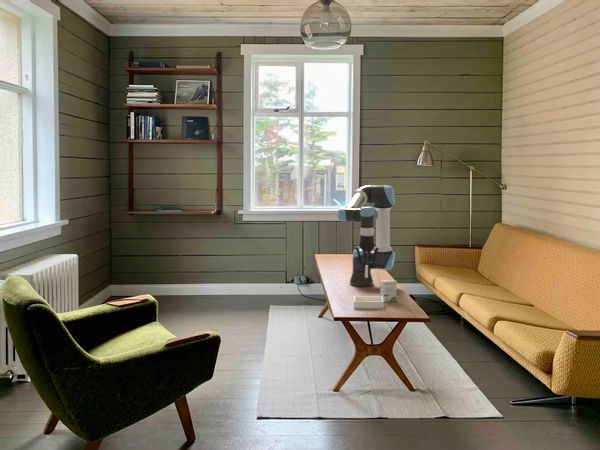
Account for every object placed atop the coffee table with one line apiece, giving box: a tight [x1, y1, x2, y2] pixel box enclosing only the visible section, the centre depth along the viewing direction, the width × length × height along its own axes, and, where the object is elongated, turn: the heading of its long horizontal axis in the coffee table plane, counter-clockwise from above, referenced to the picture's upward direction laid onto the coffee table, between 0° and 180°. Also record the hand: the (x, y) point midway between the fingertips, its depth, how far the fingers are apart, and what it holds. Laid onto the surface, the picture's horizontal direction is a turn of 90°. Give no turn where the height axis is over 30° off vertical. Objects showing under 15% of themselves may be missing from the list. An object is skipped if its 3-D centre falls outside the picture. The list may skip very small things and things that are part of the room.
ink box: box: [379, 279, 398, 303], centre depth 360 cm, size 8×5×12 cm, turn 101°
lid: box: [375, 268, 385, 301], centre depth 347 cm, size 12×16×1 cm
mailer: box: [353, 295, 385, 310], centre depth 348 cm, size 12×16×4 cm
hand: (366, 276), depth 347 cm, fingers closed
